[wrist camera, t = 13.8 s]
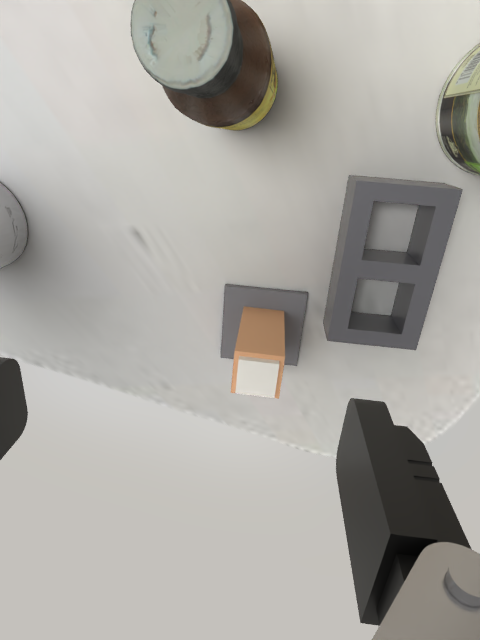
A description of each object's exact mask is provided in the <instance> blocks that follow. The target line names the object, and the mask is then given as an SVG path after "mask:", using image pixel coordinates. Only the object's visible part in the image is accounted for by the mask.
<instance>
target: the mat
mask: <svg viewBox="0 0 480 640" xmlns="http://www.w3.org/2000/svg"><path fill="white" fill-rule="evenodd" d="M307 296H308V293H307V292H300V291H290V290H280V289H270V288H260V287H250V286H240V285H230V284H226V285H225V293H224V310H223V326H222V342H221V358H229V359H234V352H235V346H236V341H237V337H238V332H239V327H240V322H241V317H242V312H243V307H244V306H245V307H254V308H262V309H271V310H280V311H284V327H285V361H284V365H294V366H297V361H298V354H299V348H300V341H301V335H302V328H303V322H304V315H305V309H306V302H307Z"/></svg>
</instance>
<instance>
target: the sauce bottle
mask: <svg viewBox="0 0 480 640" xmlns="http://www.w3.org/2000/svg"><path fill="white" fill-rule="evenodd" d="M131 36H132V40H133V46H134V49H135V52H136V54H137V56H138V58H139V60H140V62H141V64H142V65H143V67H144V69H145V70H146V71H147V72H148V73H149V74H150V75H151V77H152V78H153V79H155V80H156V81H157V82H158V83H160V84H161V85H162V86H163V88H164V90H165V92H166V94H167V96H168V98H169V99H170V101H171V102H172V104H173V105H174V106H175V108H176V109H178V110H179V111H180V112H181V113H183V114H184V115H186V116H187V117H189V118H190V119H192V120H195V121H197V122H198V123H201V124H204V125H206V126H210V127H216V128H223V129H229V130H243V129H247V128H249V127H251V126H254V125H255V124H257V123H258V122H259V121H261V120H262V119H263V118H264V117H265V116H266V114H267V113H268V112H269V110H270V109H271V107H272V105H273V102H274V100H275V97H276V93H277V82H278V80H277V72H276V68H275V64H274V57H273V53H272V48H271V44H270V41H269V37H268V35H267V32H266V29H265V27H264V25H263V23H262V21H261V20H260V18H259V17H258V15H257V14H256V13H255V12H254V10H253V9H252V8H251V7H249V6H248V5H247V4H246V3H245V2H243V1H241V0H135V1H134V4H133V8H132V13H131Z"/></svg>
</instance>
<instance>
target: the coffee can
mask: <svg viewBox="0 0 480 640" xmlns="http://www.w3.org/2000/svg"><path fill="white" fill-rule="evenodd" d="M436 129H437V136H438V139H439V142H440V145H441V147H442V149H443V151H444V153H445V154H446V156H447V157H448V158H449V159H450V160H451V161H452V162H453V163H454V164H455V165H456V166H458V167H459V168H461V169H463V170H465V171H467V172H469V173H472V174H475V175H480V44H478V45H476V46H475V47H474V48H473V49H472V50H471V51H469V52H468V53H467V54H466V55H465V56H464V57H463V58H462V60H461V61H460V62H459V63H458V64H457V65H456V67H455V68H454V69H453V71H452V72H451V74H450V75H449V77H448V79H447V81H446V83H445V85H444V87H443V89H442V92H441V94H440V97H439V101H438V106H437V111H436Z"/></svg>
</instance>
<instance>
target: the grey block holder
mask: <svg viewBox="0 0 480 640" xmlns="http://www.w3.org/2000/svg"><path fill="white" fill-rule="evenodd" d="M461 194H462V189H459V188H456V187H453V186H450V185H447V184H445V183H435V182H423V181H411V180H400V179H388V178H376V177H365V176H353V175H349V177H348V183H347V189H346V195H345V200H344V206H343V212H342V217H341V223H340V229H339V234H338V240H337V246H336V251H335V257H334V263H333V268H332V274H331V280H330V286H329V291H328V297H327V303H326V308H325V314H324V320H323V324H324V329H325V333H326V338H327V341H334V342H344V343H353V344H363V345H372V346H382V347H391V348H401V349H410V350H416V348H417V345H418V341H419V338H420V335H421V331H422V328H423V324H424V321H425V317H426V314H427V310H428V307H429V304H430V300H431V297H432V293H433V290H434V286H435V283H436V280H437V276H438V273H439V269H440V266H441V262H442V259H443V255H444V252H445V249H446V245H447V242H448V238H449V235H450V231H451V228H452V225H453V221H454V218H455V214H456V211H457V207H458V204H459V200H460V197H461ZM374 201H379V202H390V203H402V204H413V205H419V206H418V210H417V214H416V218H415V222H414V226H413V230H412V234H411V238H410V242H409V246H408V250H407V253H406V252H396V251H385V250H374V249H364V246H365V241H366V237H367V232H368V227H369V222H370V217H371V212H372V207H373V202H374ZM358 278H360V279H370V280H380V281H390V282H399V286H398V290H397V294H396V298H395V302H394V306H393V310H392V314H391V316H385V315H375V314H366V313H356V312H351V310H352V305H353V300H354V295H355V290H356V285H357V280H358Z"/></svg>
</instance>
